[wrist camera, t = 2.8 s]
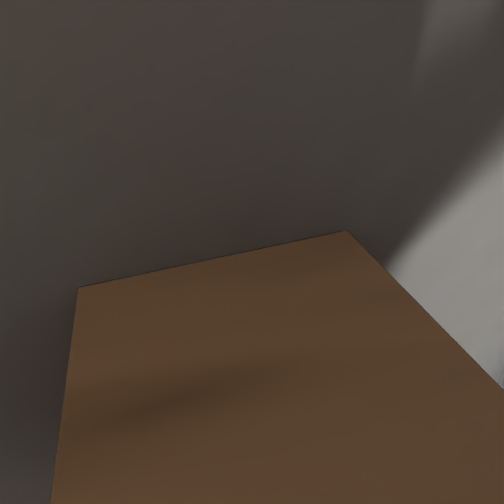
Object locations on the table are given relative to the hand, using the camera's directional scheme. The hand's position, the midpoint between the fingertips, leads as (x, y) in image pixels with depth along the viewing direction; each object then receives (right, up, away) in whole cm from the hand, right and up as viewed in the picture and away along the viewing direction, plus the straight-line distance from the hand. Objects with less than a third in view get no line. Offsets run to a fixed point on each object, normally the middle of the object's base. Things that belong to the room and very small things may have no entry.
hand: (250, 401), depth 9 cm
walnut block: (0, +1, +1) cm, 2 cm away
